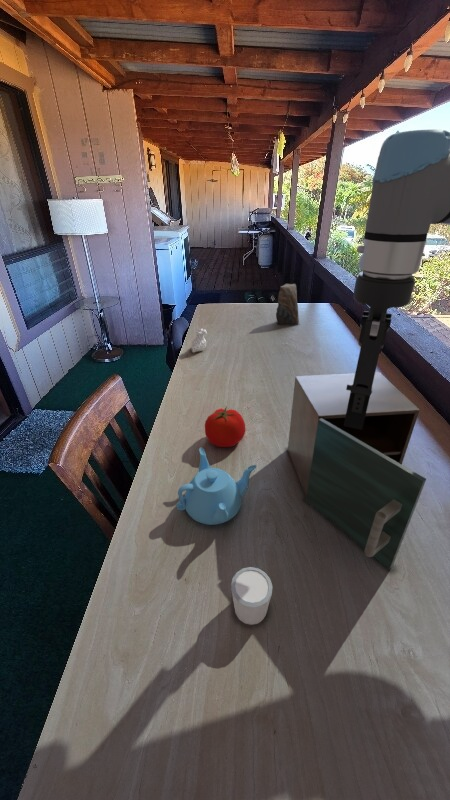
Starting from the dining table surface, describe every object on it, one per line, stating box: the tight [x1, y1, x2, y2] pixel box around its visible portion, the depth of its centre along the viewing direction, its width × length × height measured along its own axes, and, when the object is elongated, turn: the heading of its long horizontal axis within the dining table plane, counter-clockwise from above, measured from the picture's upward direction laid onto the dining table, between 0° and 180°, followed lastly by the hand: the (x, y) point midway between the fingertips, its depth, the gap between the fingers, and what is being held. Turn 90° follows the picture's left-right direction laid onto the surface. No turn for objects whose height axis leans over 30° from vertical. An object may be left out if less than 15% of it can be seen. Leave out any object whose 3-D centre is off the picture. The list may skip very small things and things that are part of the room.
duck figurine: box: [191, 328, 208, 353], centre depth 159 cm, size 12×8×11 cm
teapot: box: [175, 447, 257, 526], centre depth 79 cm, size 15×15×10 cm
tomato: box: [204, 405, 246, 448], centre depth 100 cm, size 12×12×10 cm
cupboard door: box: [305, 418, 427, 571], centre depth 67 cm, size 7×22×23 cm, turn 35°
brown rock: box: [275, 283, 300, 326], centre depth 190 cm, size 13×13×20 cm
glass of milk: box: [230, 566, 273, 626], centre depth 60 cm, size 7×7×7 cm
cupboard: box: [287, 371, 421, 498], centre depth 86 cm, size 18×22×24 cm
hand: (357, 405), depth 59 cm, fingers open, 13 cm apart
